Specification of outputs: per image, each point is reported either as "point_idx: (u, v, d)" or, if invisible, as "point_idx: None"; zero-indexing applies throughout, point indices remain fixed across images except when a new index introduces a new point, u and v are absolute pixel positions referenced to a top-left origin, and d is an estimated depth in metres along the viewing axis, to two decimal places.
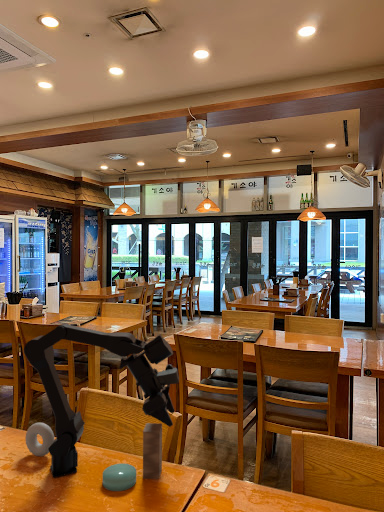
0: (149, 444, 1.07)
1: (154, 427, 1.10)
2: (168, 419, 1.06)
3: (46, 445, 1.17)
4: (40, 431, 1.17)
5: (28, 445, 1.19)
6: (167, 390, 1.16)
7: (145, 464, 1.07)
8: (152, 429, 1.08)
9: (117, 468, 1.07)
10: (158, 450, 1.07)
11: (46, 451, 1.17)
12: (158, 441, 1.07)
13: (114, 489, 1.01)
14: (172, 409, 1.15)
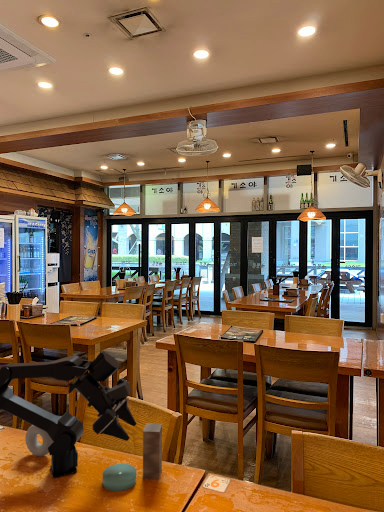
0: (149, 444, 1.07)
1: (154, 427, 1.10)
2: (123, 434, 1.05)
3: (46, 445, 1.17)
4: (40, 431, 1.17)
5: (28, 445, 1.19)
6: (125, 404, 1.15)
7: (145, 464, 1.07)
8: (152, 429, 1.08)
9: (117, 468, 1.07)
10: (158, 450, 1.07)
11: (46, 451, 1.17)
12: (158, 441, 1.07)
13: (114, 489, 1.01)
14: (133, 422, 1.14)
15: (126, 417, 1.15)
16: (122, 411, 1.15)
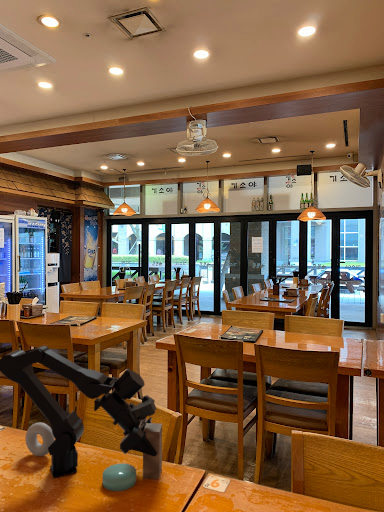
0: None
1: (154, 427, 1.10)
2: (151, 449, 1.06)
3: (46, 445, 1.17)
4: (40, 431, 1.17)
5: (28, 445, 1.19)
6: None
7: (145, 464, 1.07)
8: (152, 429, 1.08)
9: (117, 468, 1.07)
10: (158, 450, 1.07)
11: (46, 451, 1.17)
12: (158, 441, 1.07)
13: (114, 489, 1.01)
14: None
15: None
16: None
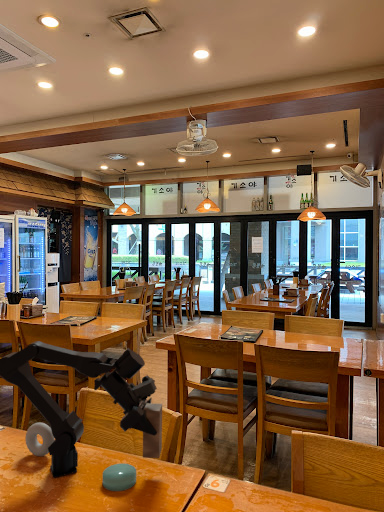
0: None
1: (154, 406, 1.10)
2: (151, 428, 1.06)
3: (46, 445, 1.17)
4: (40, 431, 1.17)
5: (28, 445, 1.19)
6: None
7: (145, 443, 1.07)
8: (152, 409, 1.08)
9: (117, 468, 1.07)
10: (158, 429, 1.07)
11: (46, 451, 1.17)
12: (158, 420, 1.07)
13: (114, 489, 1.01)
14: None
15: None
16: None
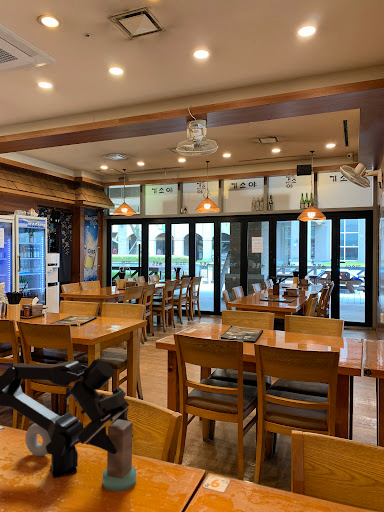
0: (113, 441, 1.03)
1: (122, 424, 1.06)
2: (110, 446, 1.00)
3: (46, 445, 1.17)
4: (40, 431, 1.17)
5: (28, 445, 1.19)
6: (123, 414, 1.11)
7: (109, 461, 1.03)
8: (117, 426, 1.04)
9: None
10: (121, 449, 1.02)
11: (46, 451, 1.17)
12: (122, 439, 1.02)
13: (114, 489, 1.01)
14: None
15: None
16: None
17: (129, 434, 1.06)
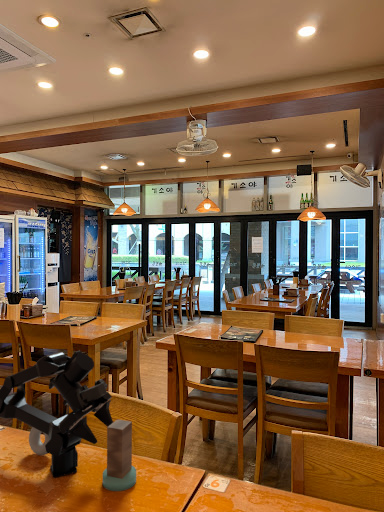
0: (112, 441, 1.03)
1: (121, 424, 1.06)
2: (90, 436, 1.02)
3: None
4: None
5: (30, 442, 1.20)
6: (104, 406, 1.13)
7: (109, 461, 1.04)
8: (116, 426, 1.04)
9: None
10: (121, 448, 1.02)
11: None
12: (121, 439, 1.02)
13: (114, 489, 1.01)
14: None
15: (105, 419, 1.12)
16: (102, 413, 1.13)
17: (128, 434, 1.06)
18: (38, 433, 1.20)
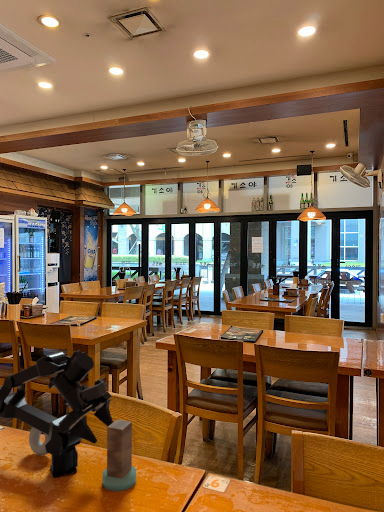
0: (112, 441, 1.03)
1: (121, 424, 1.06)
2: (90, 436, 1.02)
3: None
4: None
5: (30, 442, 1.20)
6: (104, 405, 1.13)
7: (109, 461, 1.04)
8: (116, 426, 1.04)
9: None
10: (121, 448, 1.02)
11: None
12: (121, 439, 1.02)
13: (114, 489, 1.01)
14: None
15: (105, 419, 1.12)
16: (102, 412, 1.13)
17: (128, 434, 1.06)
18: (38, 433, 1.20)
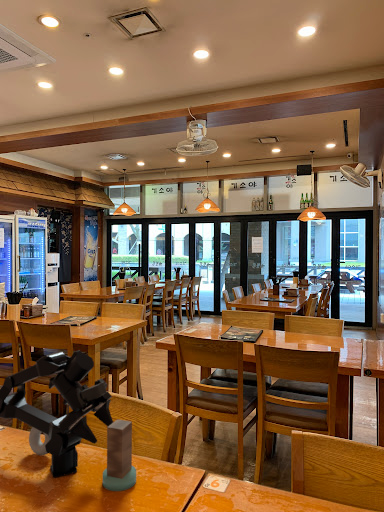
0: (112, 441, 1.03)
1: (121, 424, 1.06)
2: (90, 436, 1.02)
3: None
4: None
5: (30, 442, 1.20)
6: (104, 405, 1.13)
7: (109, 461, 1.04)
8: (116, 426, 1.04)
9: None
10: (121, 448, 1.02)
11: None
12: (121, 439, 1.02)
13: (114, 489, 1.01)
14: None
15: (105, 419, 1.12)
16: (102, 412, 1.13)
17: (128, 434, 1.06)
18: (38, 433, 1.20)
